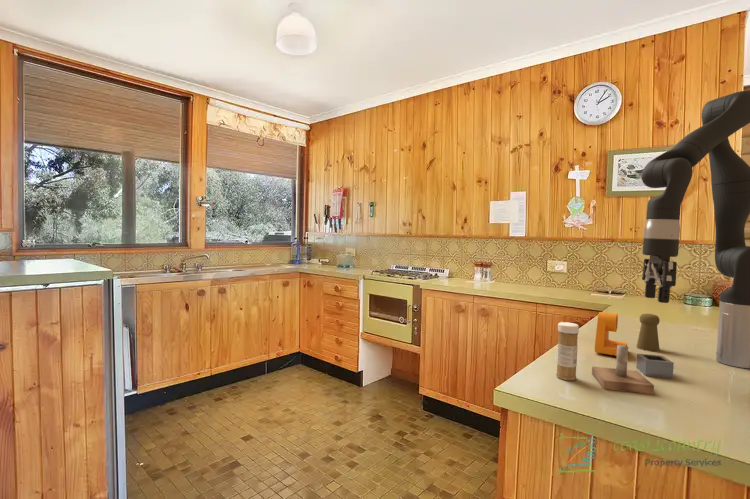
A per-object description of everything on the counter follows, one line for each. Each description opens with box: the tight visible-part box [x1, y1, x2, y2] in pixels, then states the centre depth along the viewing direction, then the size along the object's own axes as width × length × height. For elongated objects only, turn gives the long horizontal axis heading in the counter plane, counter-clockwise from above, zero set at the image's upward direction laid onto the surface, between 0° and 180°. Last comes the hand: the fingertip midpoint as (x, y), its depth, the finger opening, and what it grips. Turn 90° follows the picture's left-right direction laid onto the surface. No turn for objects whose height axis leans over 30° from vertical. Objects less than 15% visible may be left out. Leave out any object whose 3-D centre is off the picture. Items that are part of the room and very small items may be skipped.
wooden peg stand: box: [591, 345, 655, 395], centre depth 95 cm, size 10×10×9 cm
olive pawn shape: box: [636, 313, 661, 352], centre depth 126 cm, size 6×6×11 cm
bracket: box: [594, 311, 628, 357], centre depth 120 cm, size 11×7×12 cm, turn 142°
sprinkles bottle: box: [555, 321, 580, 381], centre depth 98 cm, size 5×5×14 cm
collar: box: [635, 353, 674, 380], centre depth 103 cm, size 6×6×4 cm
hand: (656, 300), depth 103 cm, fingers open, 8 cm apart
